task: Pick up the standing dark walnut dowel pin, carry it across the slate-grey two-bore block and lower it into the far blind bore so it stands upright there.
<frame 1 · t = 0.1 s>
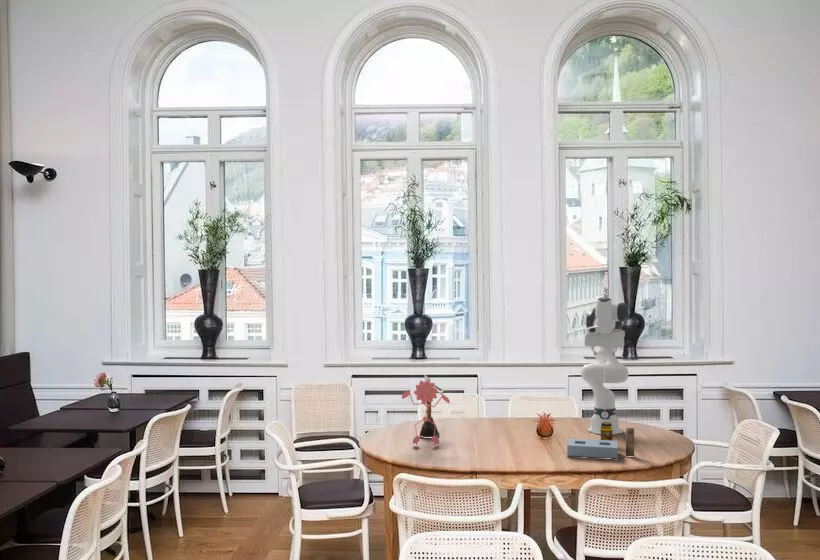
hand: (604, 355, 371), 48 cm above the table, tool pointing down, fingers open, 8 cm apart
walnut pin: (630, 456, 353), on the table
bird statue: (433, 436, 400), on the table
bore block: (592, 454, 357), on the table
pink flower figurine: (426, 445, 380), on the table
condiment: (605, 445, 374), on the table
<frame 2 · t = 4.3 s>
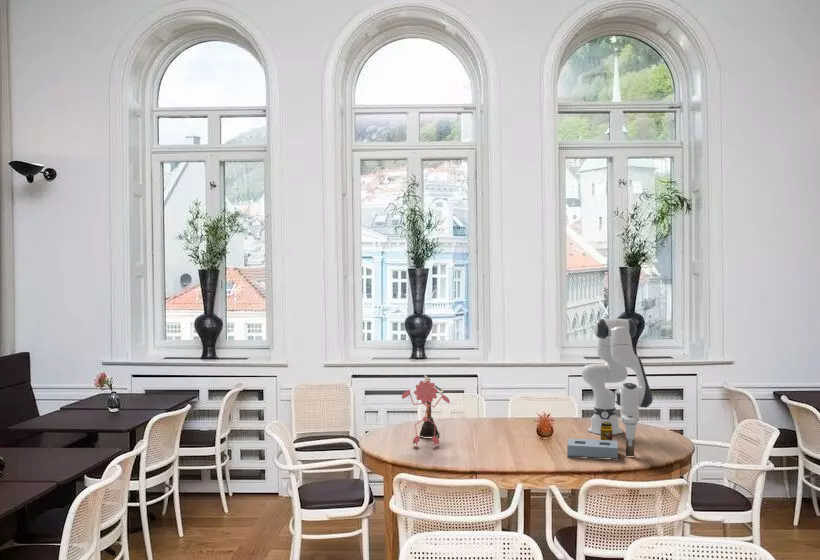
hand: (629, 444, 353), 6 cm above the table, tool pointing down, fingers closed on walnut pin, 4 cm apart
walnut pin: (630, 456, 353), on the table, touching gripper
everything else where it was.
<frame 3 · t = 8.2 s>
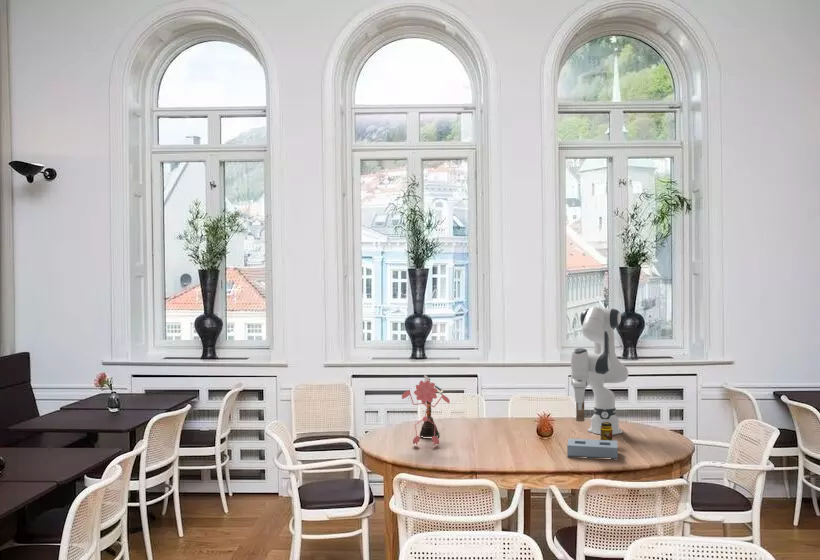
hand: (580, 408, 357), 23 cm above the table, tool pointing down, fingers closed on walnut pin, 4 cm apart
walnut pin: (580, 420, 358), point 17 cm above the table, touching gripper
everything else where it was.
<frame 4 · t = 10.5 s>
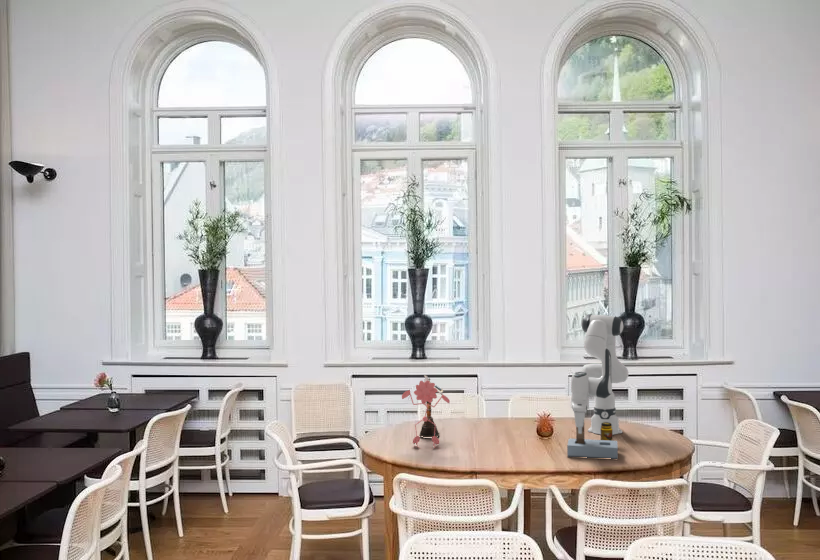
hand: (580, 432, 358), 11 cm above the table, tool pointing down, fingers closed on walnut pin, 4 cm apart
walnut pin: (580, 444, 358), point 5 cm above the table, touching gripper
everything else where it was.
when the fingers open (8 cm above the table, at t = 12.3 s): walnut pin stays where it is, resting on bore block.
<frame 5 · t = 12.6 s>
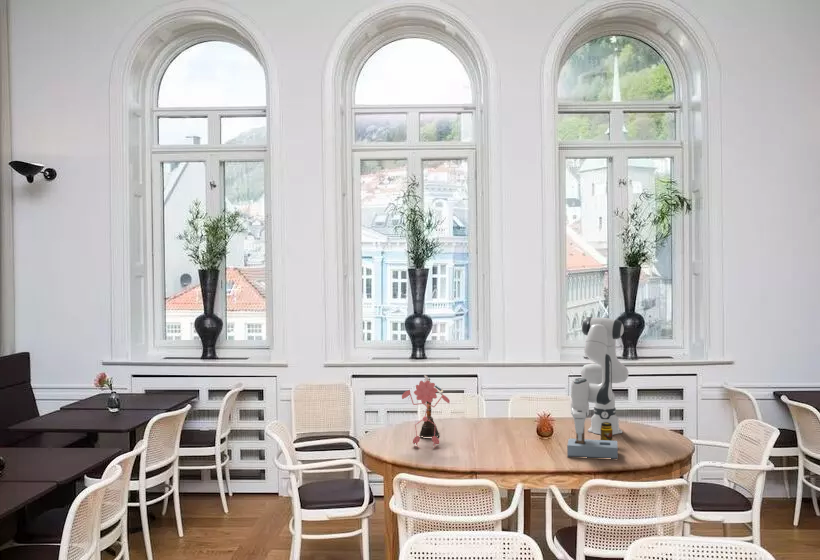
hand: (580, 438, 358), 8 cm above the table, tool pointing down, fingers open, 7 cm apart
walnut pin: (580, 452, 358), point 1 cm above the table, touching bore block
everything else where it was.
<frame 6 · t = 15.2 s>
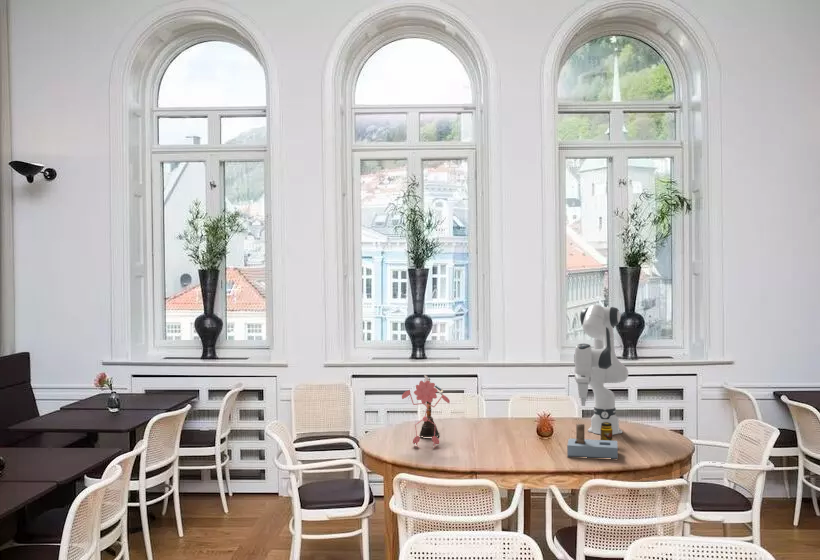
hand: (583, 403, 359), 25 cm above the table, tool pointing down, fingers open, 8 cm apart
nothing on the table moved.
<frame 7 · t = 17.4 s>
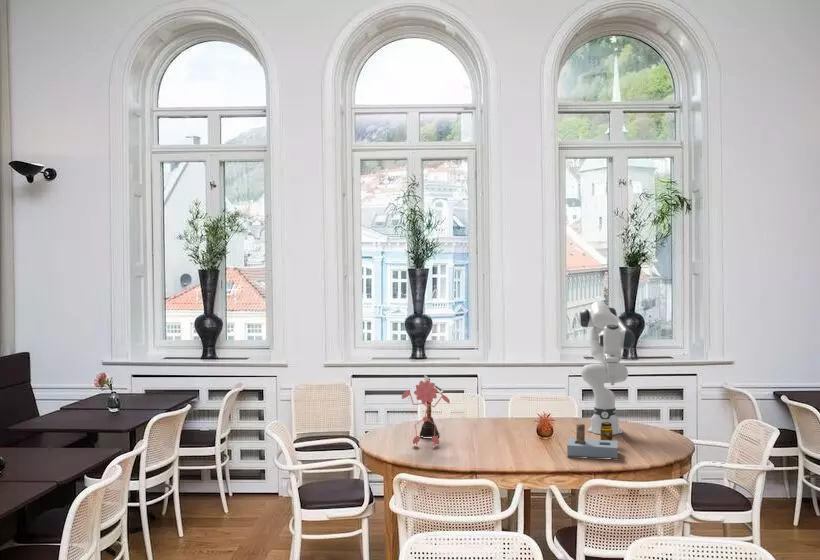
hand: (612, 383, 365), 34 cm above the table, tool pointing down, fingers open, 8 cm apart
nothing on the table moved.
at the end: walnut pin 0.1 cm from the target spot on the bore block, point 1.0 cm above the bore block's base; walnut pin tilted 1°; the gripper is holding nothing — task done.
